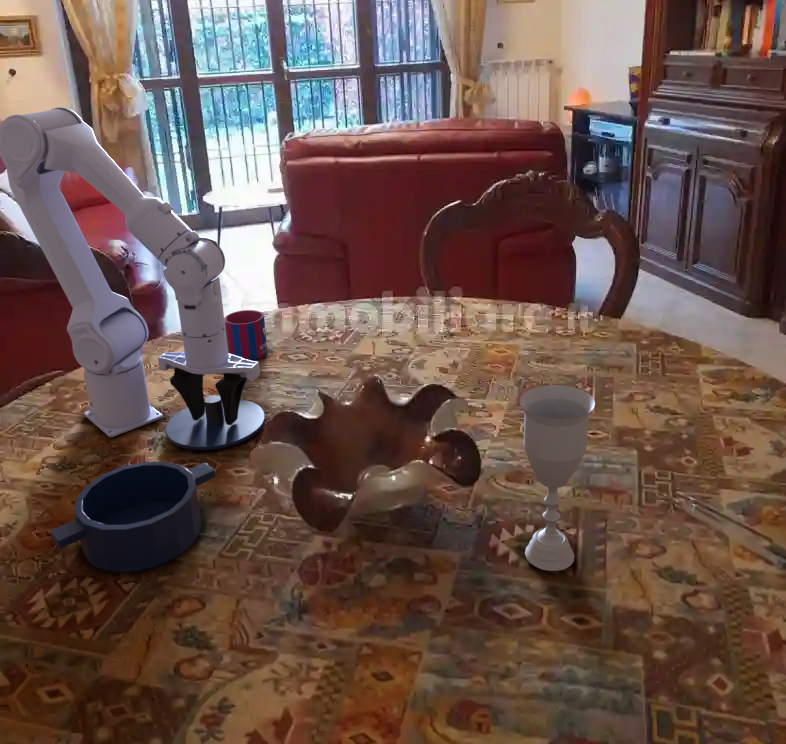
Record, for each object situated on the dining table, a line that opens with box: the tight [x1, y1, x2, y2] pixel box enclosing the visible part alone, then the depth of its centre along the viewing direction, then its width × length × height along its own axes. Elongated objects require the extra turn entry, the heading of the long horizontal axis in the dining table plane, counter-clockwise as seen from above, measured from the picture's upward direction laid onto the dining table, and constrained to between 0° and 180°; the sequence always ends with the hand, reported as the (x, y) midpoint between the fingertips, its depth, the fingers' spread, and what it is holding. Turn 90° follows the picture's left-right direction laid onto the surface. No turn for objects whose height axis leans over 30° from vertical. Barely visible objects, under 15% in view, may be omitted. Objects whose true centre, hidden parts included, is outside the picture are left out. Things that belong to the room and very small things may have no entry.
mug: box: [224, 309, 268, 361], centre depth 128 cm, size 7×10×7 cm
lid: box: [165, 394, 266, 451], centre depth 105 cm, size 14×14×5 cm
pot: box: [49, 461, 217, 573], centre depth 83 cm, size 13×18×5 cm
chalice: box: [519, 384, 596, 572], centre depth 75 cm, size 7×7×18 cm
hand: (215, 419), depth 105 cm, fingers open, 5 cm apart
